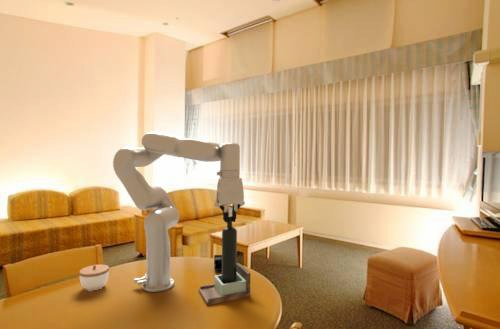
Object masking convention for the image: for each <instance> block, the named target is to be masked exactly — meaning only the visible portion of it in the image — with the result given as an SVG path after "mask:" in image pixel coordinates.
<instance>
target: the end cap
mask: <svg viewBox="0 0 500 329" xmlns="http://www.w3.org/2000/svg"><path fill="white" fill-rule="evenodd" d="M213 262H214V263H213V267H214V273H222V254H214V256H213Z"/></svg>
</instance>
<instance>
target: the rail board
mask: <svg viewBox="0 0 500 329" xmlns="http://www.w3.org/2000/svg"><path fill="white" fill-rule="evenodd" d="M237 272H238V273H239V274H240V275H241V276H242V277H243V278H244V279H245V280H246V292H245V291H244V292H239V293H234V294H229V295H223V296H221V295H220V294H219V293H218V291H217V290H216V289H215V287H214V283H211V284H205V285H200V288H198V292H199V294H200V296H201V297H202V300H203V301H204V303H205V304H206V306H210V305H215V304H221V303H225V302H230V301H235V300H240V299H244V298H249V297H250V298H251V272H250V271H249V270H248V269H246V268H245V267H244V266H243V265H242V264H240V263H239V262H237Z"/></svg>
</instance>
